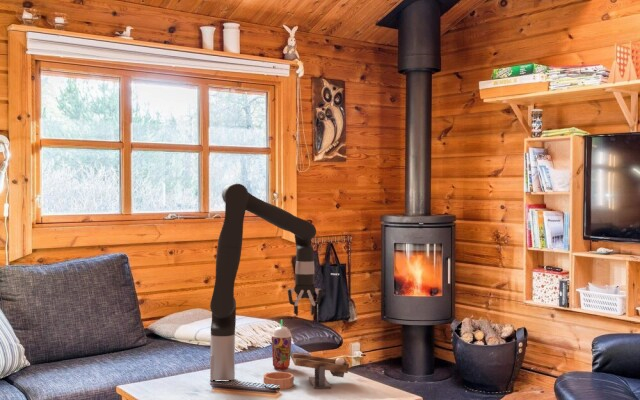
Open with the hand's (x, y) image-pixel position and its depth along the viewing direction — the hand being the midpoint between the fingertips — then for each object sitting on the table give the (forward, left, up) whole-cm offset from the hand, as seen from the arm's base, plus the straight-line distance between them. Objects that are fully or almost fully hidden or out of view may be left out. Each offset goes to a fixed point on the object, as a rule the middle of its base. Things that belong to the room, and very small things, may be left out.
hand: (304, 314), depth 285 cm
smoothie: (-8, +10, -24) cm, 27 cm away
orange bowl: (-11, -15, -23) cm, 30 cm away
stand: (+4, -15, -23) cm, 28 cm away
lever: (+4, -11, -19) cm, 22 cm away
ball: (+12, -15, -15) cm, 25 cm away
